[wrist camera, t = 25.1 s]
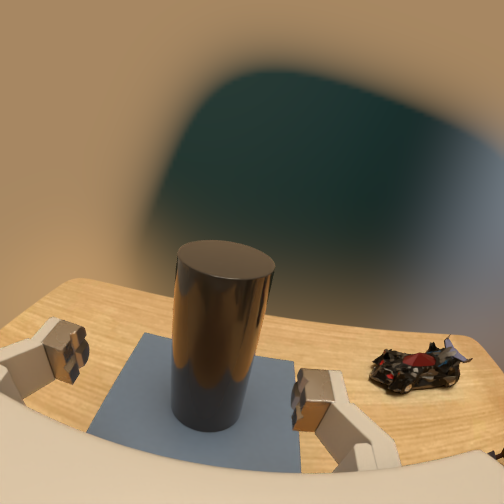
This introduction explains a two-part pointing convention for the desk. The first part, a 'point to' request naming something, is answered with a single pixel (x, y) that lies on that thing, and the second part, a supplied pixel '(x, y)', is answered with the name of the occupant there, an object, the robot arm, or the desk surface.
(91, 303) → the desk surface
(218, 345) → the glossy brown cylinder
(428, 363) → the toy car
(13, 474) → the robot arm
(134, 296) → the desk surface
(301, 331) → the desk surface
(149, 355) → the low gray rectangular block
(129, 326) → the desk surface
